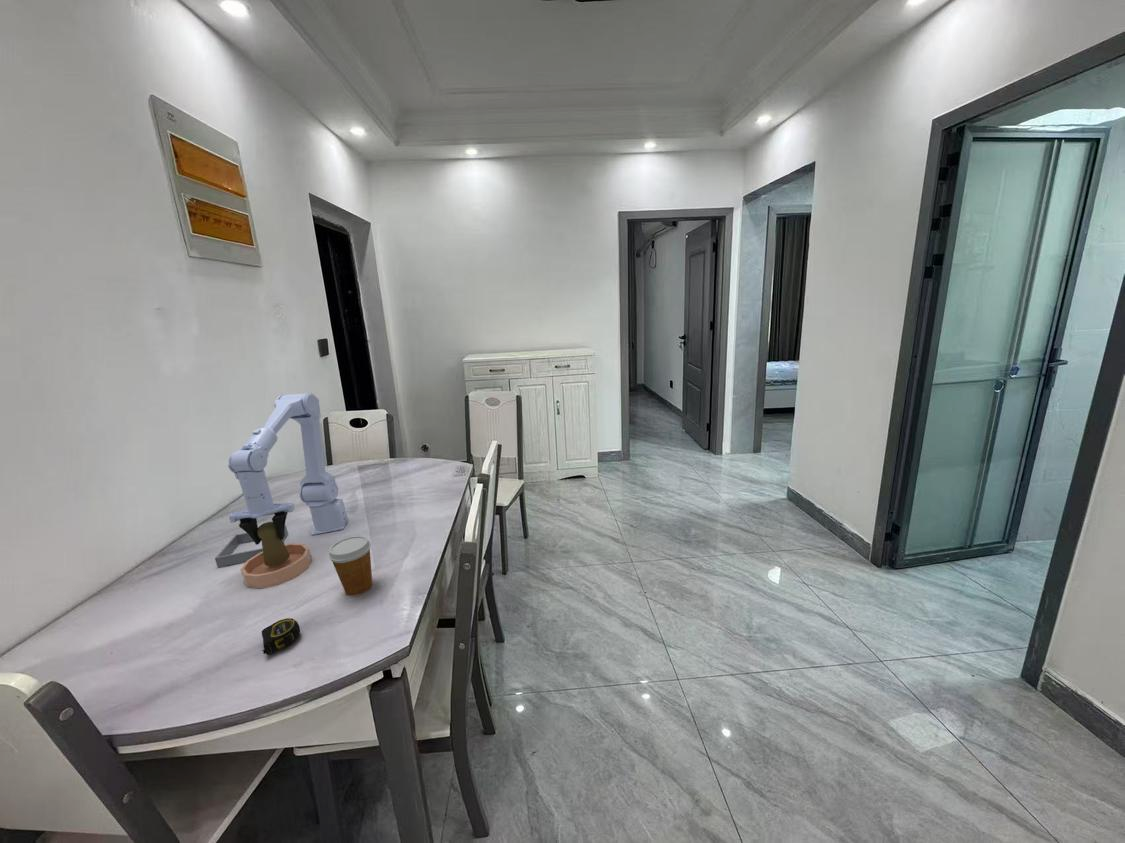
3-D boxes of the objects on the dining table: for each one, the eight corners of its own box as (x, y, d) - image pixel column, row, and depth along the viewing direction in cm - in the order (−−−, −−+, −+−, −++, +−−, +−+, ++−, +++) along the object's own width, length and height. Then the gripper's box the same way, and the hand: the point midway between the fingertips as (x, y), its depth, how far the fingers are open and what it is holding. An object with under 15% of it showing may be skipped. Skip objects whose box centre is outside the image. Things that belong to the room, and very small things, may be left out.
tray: (288, 533, 145) (285, 525, 144) (273, 556, 132) (271, 547, 131) (237, 543, 142) (235, 534, 141) (217, 567, 129) (214, 558, 128)
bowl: (316, 549, 134) (314, 538, 133) (302, 579, 119) (299, 567, 118) (257, 561, 130) (254, 550, 129) (235, 593, 115) (231, 581, 114)
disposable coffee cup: (338, 583, 116) (328, 541, 113) (378, 572, 119) (369, 531, 116) (337, 605, 107) (325, 560, 104) (380, 592, 111) (370, 548, 107)
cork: (279, 566, 122) (269, 531, 118) (258, 565, 123) (248, 530, 119) (294, 552, 128) (285, 518, 124) (274, 551, 128) (264, 518, 124)
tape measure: (264, 641, 98) (259, 626, 97) (300, 626, 101) (296, 612, 100) (265, 660, 92) (260, 644, 91) (303, 644, 96) (299, 629, 95)
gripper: (218, 505, 113) (233, 553, 117) (283, 494, 117) (296, 541, 120) (230, 494, 120) (244, 540, 123) (291, 484, 123) (303, 529, 127)
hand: (270, 540), depth 122 cm, fingers closed on cork, 5 cm apart
